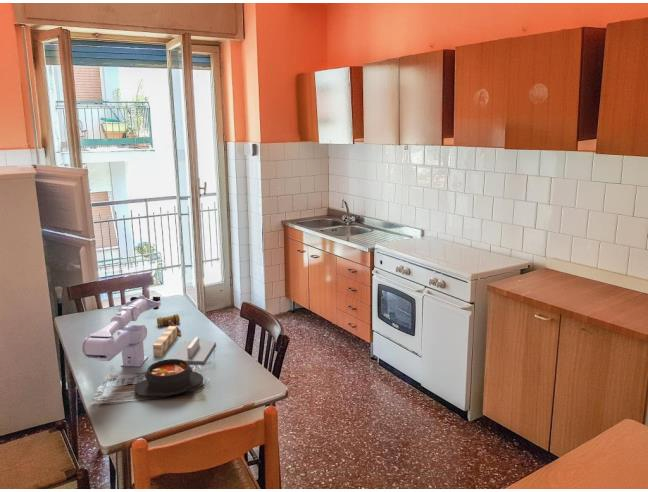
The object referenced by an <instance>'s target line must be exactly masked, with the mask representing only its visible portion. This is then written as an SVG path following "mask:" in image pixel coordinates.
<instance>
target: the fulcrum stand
mask: <svg viewBox="0 0 648 492" xmlns="http://www.w3.org/2000/svg"><path fill="white" fill-rule="evenodd" d="M216 344H217V342H216V341H200V337H199V336H195V337H194V338H193V340H191V341H187V340H186V341H185V340H184V342H183V343H182V344H181V345H180V347H179V348H178V350H177V351H176V352H175V353H174V355H172V357H171V358H170V359H180V360H184V361H186V362H187V363H188V364H189V365H191V364H193V365H196V364H195V363H199V364H198V365H204V364H205V362H206V361H207V359H209V356H210V354H211V353H212V351H213V350H214V348H215V347H216Z"/></svg>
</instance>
